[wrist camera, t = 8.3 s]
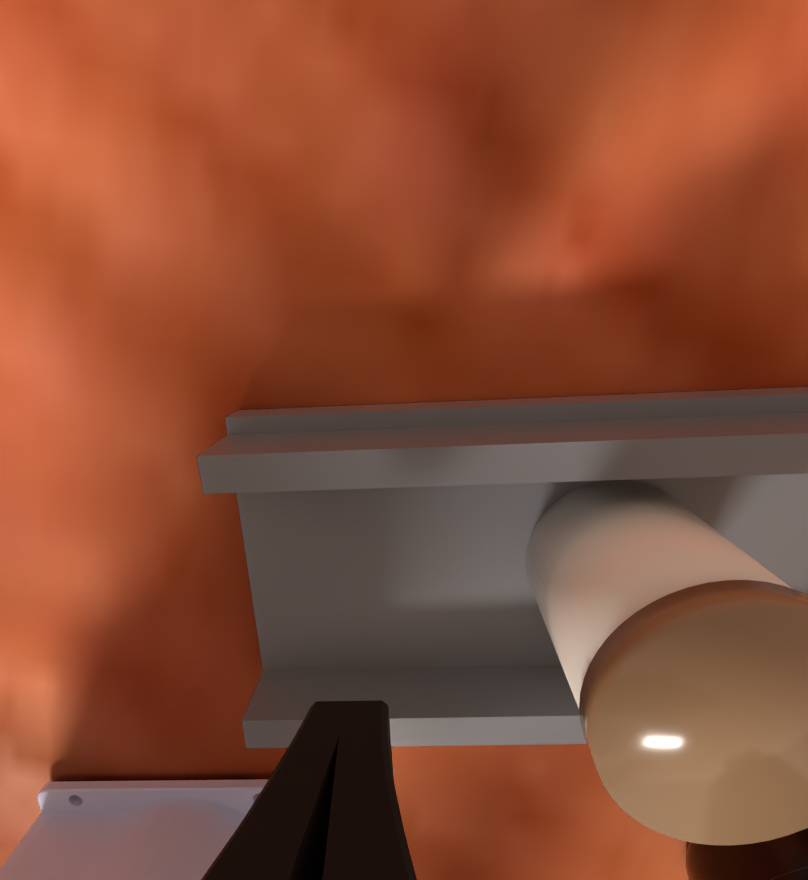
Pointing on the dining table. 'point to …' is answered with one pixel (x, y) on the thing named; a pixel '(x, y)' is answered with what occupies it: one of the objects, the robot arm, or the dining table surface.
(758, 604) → the jar
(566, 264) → the dining table surface
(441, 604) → the lane tray
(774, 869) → the supplement bottle
